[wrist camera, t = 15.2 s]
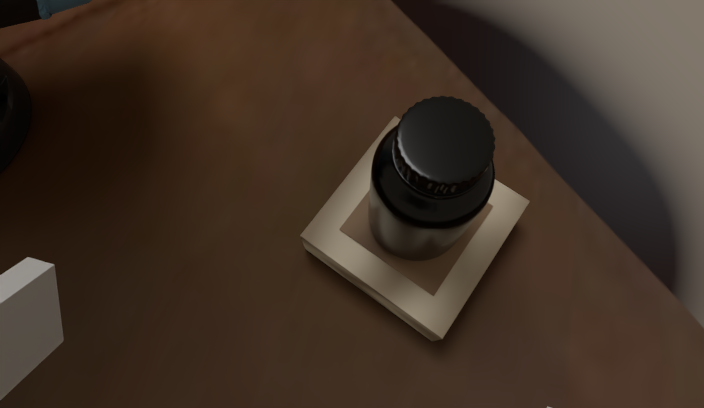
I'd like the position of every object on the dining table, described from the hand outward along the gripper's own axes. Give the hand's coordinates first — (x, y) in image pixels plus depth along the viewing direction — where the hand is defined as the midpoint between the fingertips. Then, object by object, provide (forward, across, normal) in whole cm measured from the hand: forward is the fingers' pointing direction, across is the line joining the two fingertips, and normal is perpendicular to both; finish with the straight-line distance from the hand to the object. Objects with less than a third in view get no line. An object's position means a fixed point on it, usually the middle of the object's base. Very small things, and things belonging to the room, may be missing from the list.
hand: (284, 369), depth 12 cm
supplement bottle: (+21, +4, -5) cm, 22 cm away
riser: (+24, +4, -8) cm, 26 cm away
